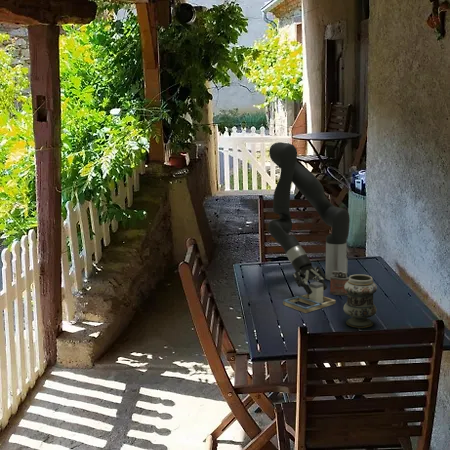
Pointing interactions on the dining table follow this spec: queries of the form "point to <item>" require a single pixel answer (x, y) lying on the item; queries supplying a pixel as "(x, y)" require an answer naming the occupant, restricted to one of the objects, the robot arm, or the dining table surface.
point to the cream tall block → (316, 292)
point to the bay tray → (304, 299)
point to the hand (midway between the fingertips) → (318, 291)
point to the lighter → (338, 283)
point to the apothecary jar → (360, 300)
